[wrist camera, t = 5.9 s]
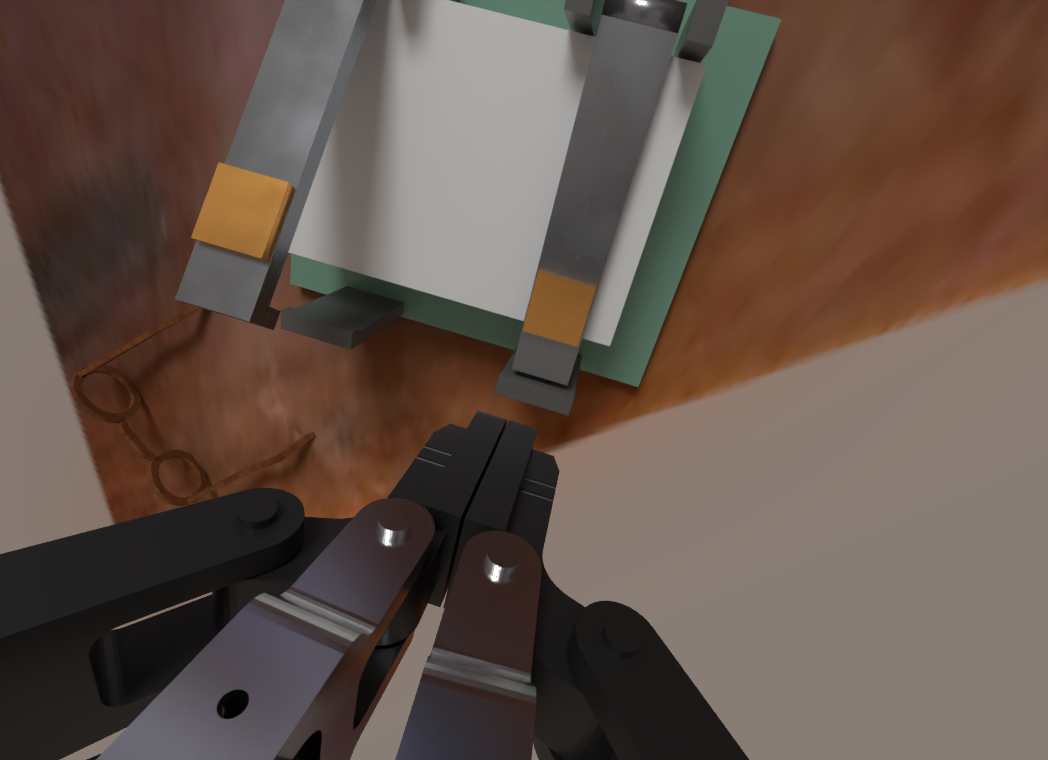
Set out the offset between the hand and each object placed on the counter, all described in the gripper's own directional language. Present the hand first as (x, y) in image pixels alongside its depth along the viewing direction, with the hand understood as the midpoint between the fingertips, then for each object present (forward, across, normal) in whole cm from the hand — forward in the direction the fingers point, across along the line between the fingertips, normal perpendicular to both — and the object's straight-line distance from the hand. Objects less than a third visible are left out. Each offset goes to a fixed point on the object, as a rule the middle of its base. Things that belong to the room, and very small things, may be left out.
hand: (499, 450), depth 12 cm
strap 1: (+11, +12, -5) cm, 17 cm away
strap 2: (+15, 0, -4) cm, 15 cm away
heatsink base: (+20, +6, -4) cm, 21 cm away
